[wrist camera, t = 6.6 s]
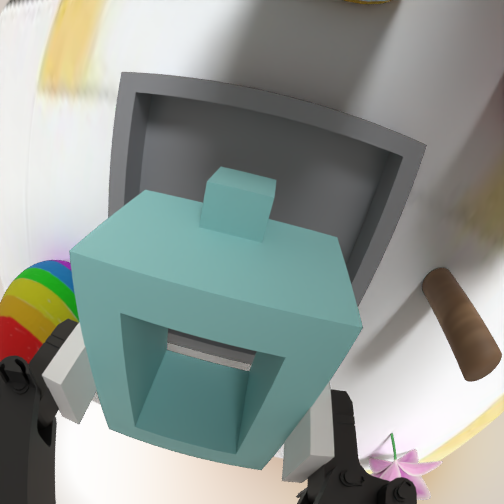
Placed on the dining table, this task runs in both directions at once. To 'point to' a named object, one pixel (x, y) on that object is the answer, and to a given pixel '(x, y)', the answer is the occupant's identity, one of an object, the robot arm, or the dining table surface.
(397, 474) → the lily
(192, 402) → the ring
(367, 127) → the tray
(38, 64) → the dining table surface
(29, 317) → the decorative egg
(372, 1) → the bottle
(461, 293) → the post
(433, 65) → the dining table surface
